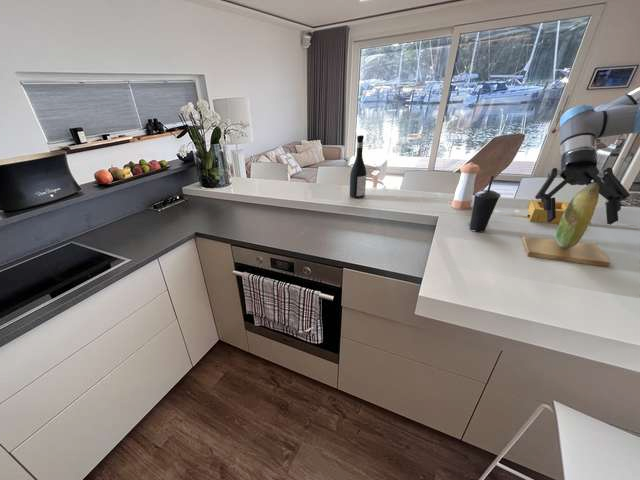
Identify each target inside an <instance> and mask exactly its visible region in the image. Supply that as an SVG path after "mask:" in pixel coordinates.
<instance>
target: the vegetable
mask: <svg viewBox="0 0 640 480" xmlns="http://www.w3.org/2000/svg"><path fill="white" fill-rule="evenodd" d="M599 198H600V194H599V184H598V183H590V184H588V185H585V187H583V188H582V189H581V190H579V191H578V192H577V193H576V194H575V195H574V196H573V197H572V199H571V200H570V202H568V203H569V205H568V207H567V208H566V210H565V212H564V213H563V215H562V218H561V220H560V223H559V224H558V227H557V229H556V233H555V240H556V241H557V243H558V245H560V246H561V247H564V248H571V247H573V246H575V245H576V244H577V243H578V242H579V243H580V241H581V240H582V238H583V236H584V235H585V233H586V231H587V230H588V227H589V225H590V223H591V221H592V218H593V216H594V213H595V210H596V207H597V204H598V202H599Z"/></svg>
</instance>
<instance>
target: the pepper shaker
mask: <svg viewBox="0 0 640 480" xmlns="http://www.w3.org/2000/svg"><path fill="white" fill-rule="evenodd" d="M480 171H481V168H480V165H478V164H476V163H474V162H473V161H471V162H469V163H465V164H463V165H462V166H460V168H459V172H460V173H461V174H460V178H459V182H458V184H457V186H456V189H455V193H454V197H453V198H452V202H451V208H454V209H456V210H468V209H470V208H471V206H472V204H473V203H472V202H473V199H472V198H473V195H474V191H475V190H474V189H475V188H474V187H475V181H476V177H477V174H478V173H479V172H480Z"/></svg>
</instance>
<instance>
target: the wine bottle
mask: <svg viewBox="0 0 640 480" xmlns="http://www.w3.org/2000/svg"><path fill="white" fill-rule="evenodd" d="M364 137H365V136H364V135H357V136H356V155H355V160H354V163H353V165H352V166H351V167H352V168H351V170H350V173H349V197H350V198H352V199H361V198H364V197H365V196H366V185H367V169H366V165H365V161H364V159H363V145H364Z"/></svg>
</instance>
